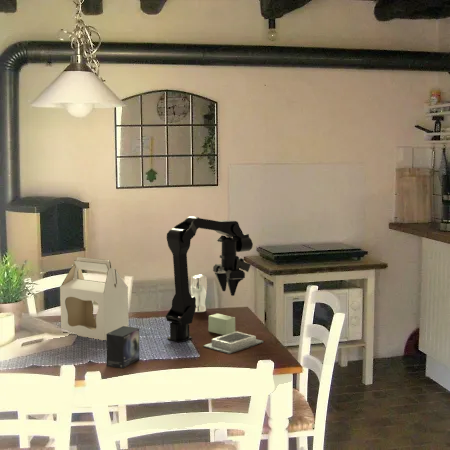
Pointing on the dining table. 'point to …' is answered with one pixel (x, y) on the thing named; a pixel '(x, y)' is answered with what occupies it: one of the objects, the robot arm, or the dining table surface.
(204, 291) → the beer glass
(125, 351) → the small box
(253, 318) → the dining table surface
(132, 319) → the dining table surface
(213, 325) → the green block
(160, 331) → the dining table surface
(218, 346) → the collar
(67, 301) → the gable box
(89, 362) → the dining table surface
